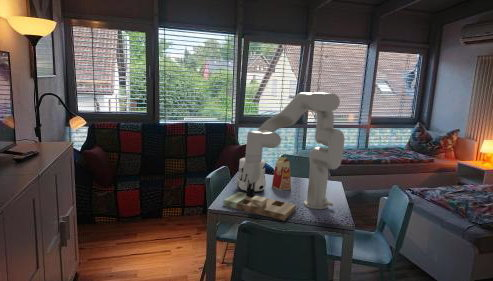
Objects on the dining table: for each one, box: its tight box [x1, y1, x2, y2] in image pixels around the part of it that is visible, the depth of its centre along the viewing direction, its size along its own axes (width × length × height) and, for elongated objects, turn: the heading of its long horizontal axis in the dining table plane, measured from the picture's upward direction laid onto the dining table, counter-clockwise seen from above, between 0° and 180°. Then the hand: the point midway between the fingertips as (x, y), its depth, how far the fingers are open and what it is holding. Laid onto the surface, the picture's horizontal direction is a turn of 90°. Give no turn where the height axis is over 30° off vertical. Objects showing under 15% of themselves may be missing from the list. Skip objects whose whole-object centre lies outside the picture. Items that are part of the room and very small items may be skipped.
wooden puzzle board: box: [223, 191, 297, 221], centre depth 169 cm, size 33×16×3 cm, turn 63°
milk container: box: [236, 157, 267, 193], centre depth 197 cm, size 17×17×18 cm
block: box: [250, 195, 267, 208], centre depth 164 cm, size 6×6×4 cm
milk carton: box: [271, 156, 292, 191], centre depth 205 cm, size 9×9×20 cm
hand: (249, 196), depth 156 cm, fingers closed
